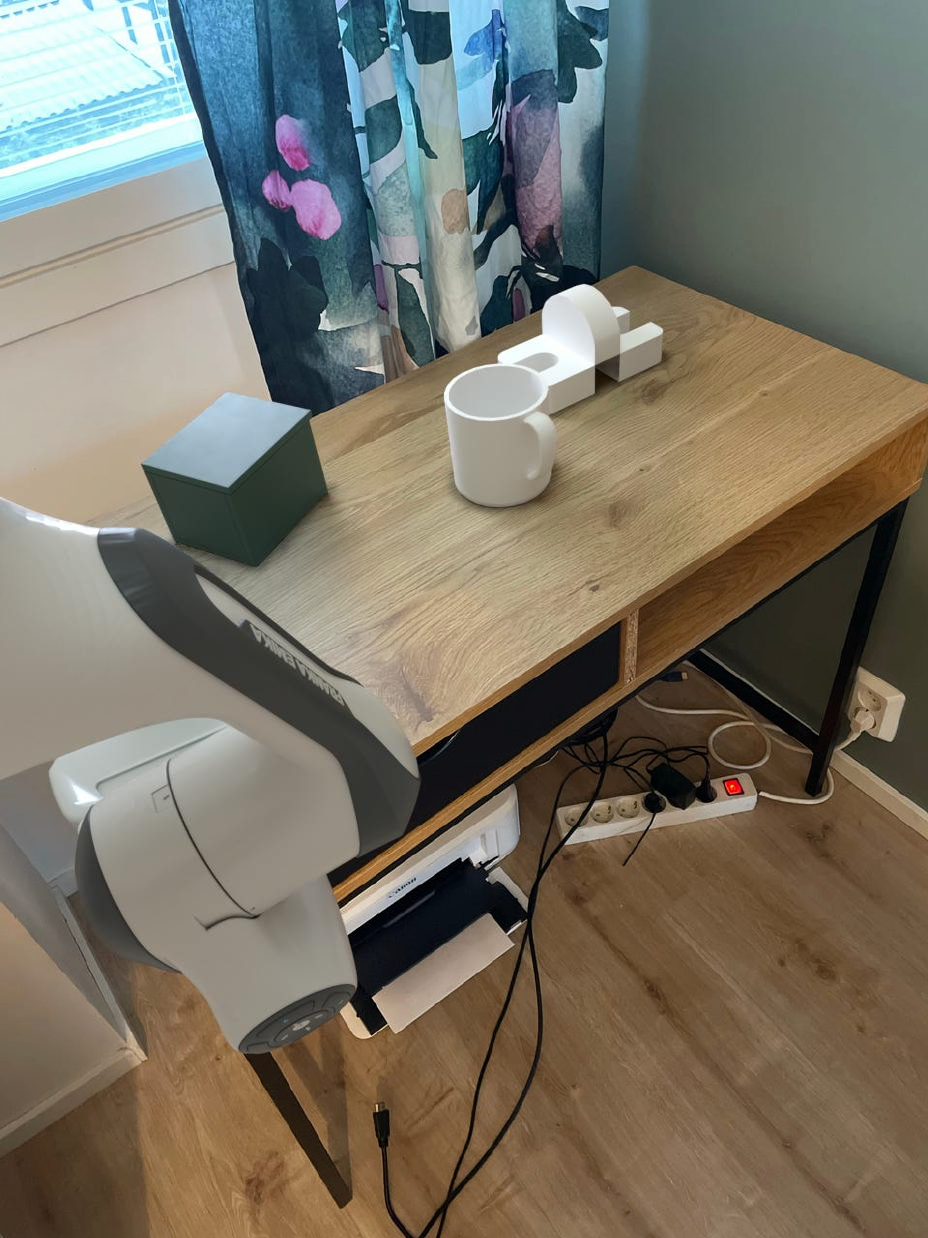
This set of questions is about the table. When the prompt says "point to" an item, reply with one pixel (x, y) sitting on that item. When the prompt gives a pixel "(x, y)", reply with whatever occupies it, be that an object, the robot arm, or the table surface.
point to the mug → (500, 434)
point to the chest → (246, 503)
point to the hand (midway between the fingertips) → (177, 674)
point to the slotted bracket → (585, 345)
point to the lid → (227, 442)
